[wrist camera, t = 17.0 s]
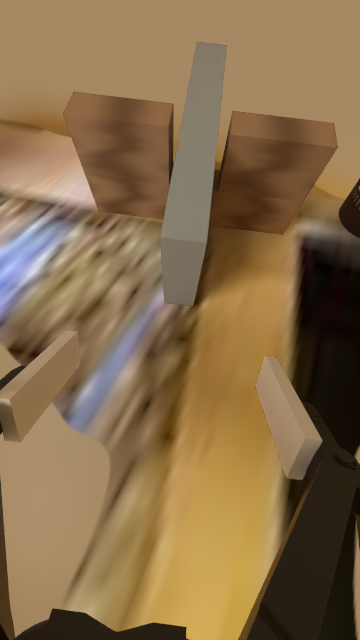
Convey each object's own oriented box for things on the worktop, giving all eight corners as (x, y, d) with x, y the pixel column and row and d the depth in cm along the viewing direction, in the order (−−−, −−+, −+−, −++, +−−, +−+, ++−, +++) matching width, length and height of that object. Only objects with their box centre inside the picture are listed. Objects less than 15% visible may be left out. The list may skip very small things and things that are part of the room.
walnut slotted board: (98, 211, 28) (63, 114, 19) (104, 192, 29) (73, 91, 20) (282, 234, 28) (337, 147, 19) (281, 214, 29) (333, 123, 20)
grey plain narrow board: (193, 306, 24) (206, 242, 15) (164, 302, 25) (160, 237, 15) (211, 148, 33) (226, 45, 24) (189, 146, 33) (196, 41, 24)
